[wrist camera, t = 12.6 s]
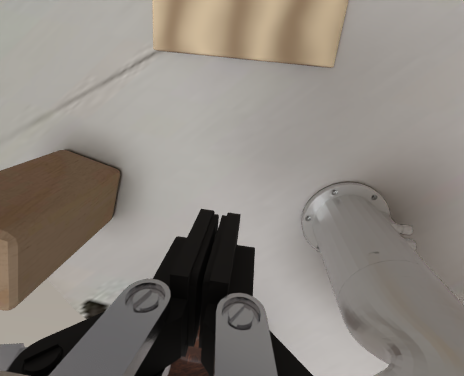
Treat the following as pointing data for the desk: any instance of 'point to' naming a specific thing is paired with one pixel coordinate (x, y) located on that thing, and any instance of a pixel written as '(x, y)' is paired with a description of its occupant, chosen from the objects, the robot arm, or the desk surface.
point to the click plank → (251, 29)
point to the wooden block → (49, 217)
